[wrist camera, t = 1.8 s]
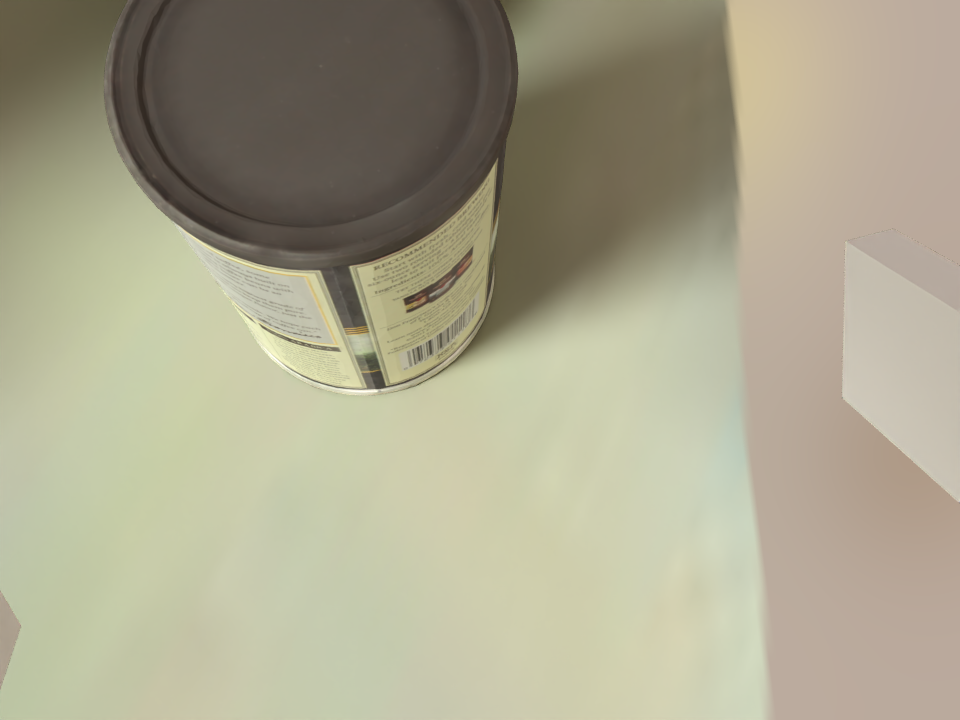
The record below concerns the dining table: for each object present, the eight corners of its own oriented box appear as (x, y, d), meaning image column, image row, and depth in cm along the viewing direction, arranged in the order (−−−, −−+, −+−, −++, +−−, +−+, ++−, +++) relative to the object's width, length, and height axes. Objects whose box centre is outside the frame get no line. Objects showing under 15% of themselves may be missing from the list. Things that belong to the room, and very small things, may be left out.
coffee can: (307, 119, 38) (226, -158, 24) (534, 214, 37) (581, -19, 24) (186, 333, 35) (19, 155, 22) (427, 441, 34) (410, 326, 21)
